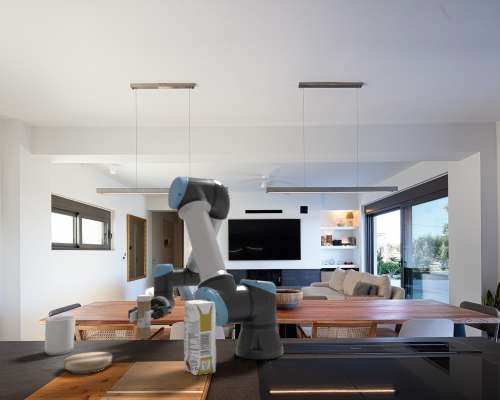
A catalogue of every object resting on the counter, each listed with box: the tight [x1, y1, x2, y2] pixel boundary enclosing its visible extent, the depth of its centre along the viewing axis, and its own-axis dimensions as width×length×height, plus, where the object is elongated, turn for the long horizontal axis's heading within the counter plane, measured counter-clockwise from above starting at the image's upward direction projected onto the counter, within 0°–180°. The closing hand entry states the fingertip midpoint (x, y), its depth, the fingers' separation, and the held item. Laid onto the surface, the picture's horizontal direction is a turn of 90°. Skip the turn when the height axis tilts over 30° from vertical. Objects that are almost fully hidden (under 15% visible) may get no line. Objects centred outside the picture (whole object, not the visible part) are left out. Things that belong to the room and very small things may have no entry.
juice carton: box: [183, 299, 217, 376], centre depth 114 cm, size 8×9×19 cm
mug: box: [44, 315, 76, 356], centre depth 139 cm, size 12×9×11 cm
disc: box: [63, 351, 113, 375], centre depth 117 cm, size 13×13×3 cm
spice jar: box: [136, 294, 152, 340], centre depth 133 cm, size 5×5×14 cm
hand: (139, 317), depth 127 cm, fingers closed on spice jar, 4 cm apart
